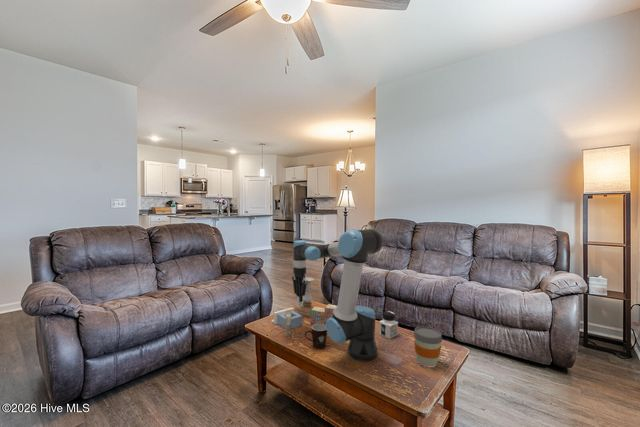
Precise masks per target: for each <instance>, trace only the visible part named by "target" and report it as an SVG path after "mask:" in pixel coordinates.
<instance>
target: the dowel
mask: <svg viewBox="0 0 640 427" xmlns="http://www.w3.org/2000/svg"><path fill="white" fill-rule="evenodd" d="M291 330H292V329H291V311H286V328H285V330H284V331H285V333H284V334H285V336H284V337H285V338H290V337H292V336H291V335H292V332H291Z"/></svg>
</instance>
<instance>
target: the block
mask: <svg viewBox="0 0 640 427" xmlns="http://www.w3.org/2000/svg"><path fill="white" fill-rule="evenodd" d="M296 312H297V311H295V310H294V311H293V310H292V311H291V330H292V329H296V328H298V327H301V326H303V316H302V315H300V314H298V313H296ZM277 325H278V326H280V327H282V328H283V329H285V328H286V312H285V313H281V314H278V324H277Z"/></svg>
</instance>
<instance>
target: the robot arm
mask: <svg viewBox="0 0 640 427" xmlns="http://www.w3.org/2000/svg"><path fill="white" fill-rule="evenodd" d="M307 244H308V243H307V241H306V240H303V239H302V240H300V239H299V240H294V241H293V247H292V248H293V252H292V253H293V255H292V256H293V261H292V262H293V265H292V266H293V269H292V271H293V272H292V273H293V275H294V276H292V277H291V279H292V285H293V293H294V294H295V295H296V308H298V309H299V308H301V307H302V306H303V302H304V301H303V296H304V295H305V292H306V286H307V283H308V280H306V279H305V277H306V276H305V274H307V260H309V261H317V260H318V259H323V258H324V259H325V258H333V257H336V256H341V259H342V261H344V262H343V269H342V275H341V280H340V286H339V294H338V301H337V305H336V306H337V308H335V309H334V310H333V316H332V318H329V319H328V320H327V322H326V329H327V335H328V337H329V338H330V340H332V342H334V343H335V344H341V343H345V342H347V341H349V342H348V345H347V354H348V355H349V356H350V357H351V358H353V359H354V360H358V361H365V362H366V361H372V360H374V359H376V358H378V353H379V350H378V347H377V344H376V338H375V337H376V336H375V335H376V312H375V310H374V309H373V308H371V307H369V306H365V305H357V301H358V297H359V296H358V295H359V291H360V284H361V278H362V273H363V267H364V265H365V264H367V262H368V260H369V259H368V258H369V255H375V254H377V253H379V252H380V251H381V250H382V248H383V247H384V237H383V236H382V234H381V232H379V231H378V230H375V229H372V228H367V229H351V230H346V231H345V232H343V233H342V234H341V235H340V237H339V239H338V241H337V242H336V241H335V242H331V243H330V242H329V243H325V244H317V245H307Z"/></svg>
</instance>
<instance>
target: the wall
mask: <svg viewBox="0 0 640 427" xmlns="http://www.w3.org/2000/svg"><path fill="white" fill-rule="evenodd" d="M292 310H293V311H295V308H294V307H289V308H285V309H282V310H277V311H274V312H273V319H272V320H270V322H271V323H272V324H274V325H278V314H281V313H285V312H286V311H292Z"/></svg>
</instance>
